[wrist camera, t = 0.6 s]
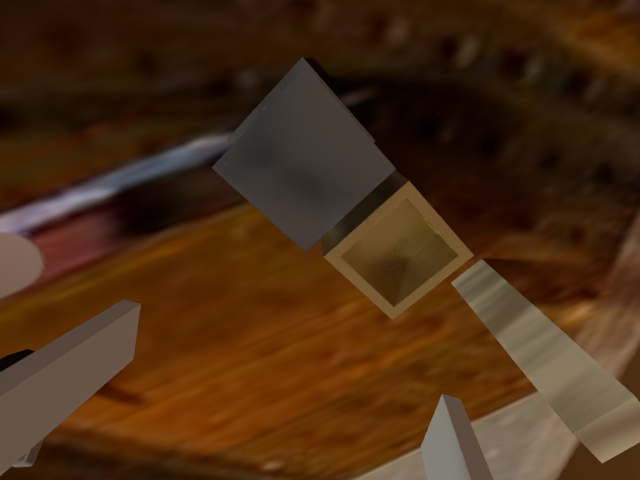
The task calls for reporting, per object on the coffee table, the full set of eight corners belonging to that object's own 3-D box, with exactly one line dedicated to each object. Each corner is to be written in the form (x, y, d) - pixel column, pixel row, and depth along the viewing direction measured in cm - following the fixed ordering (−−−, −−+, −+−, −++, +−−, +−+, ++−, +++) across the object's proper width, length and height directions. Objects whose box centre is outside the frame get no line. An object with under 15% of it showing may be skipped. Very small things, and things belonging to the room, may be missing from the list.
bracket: (228, 138, 30) (184, 167, 18) (302, 57, 28) (305, 31, 16) (362, 265, 36) (395, 352, 24) (432, 206, 34) (505, 268, 22)
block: (450, 282, 37) (573, 433, 21) (481, 258, 36) (634, 396, 20) (471, 304, 39) (602, 463, 22) (501, 281, 38) (661, 429, 21)
